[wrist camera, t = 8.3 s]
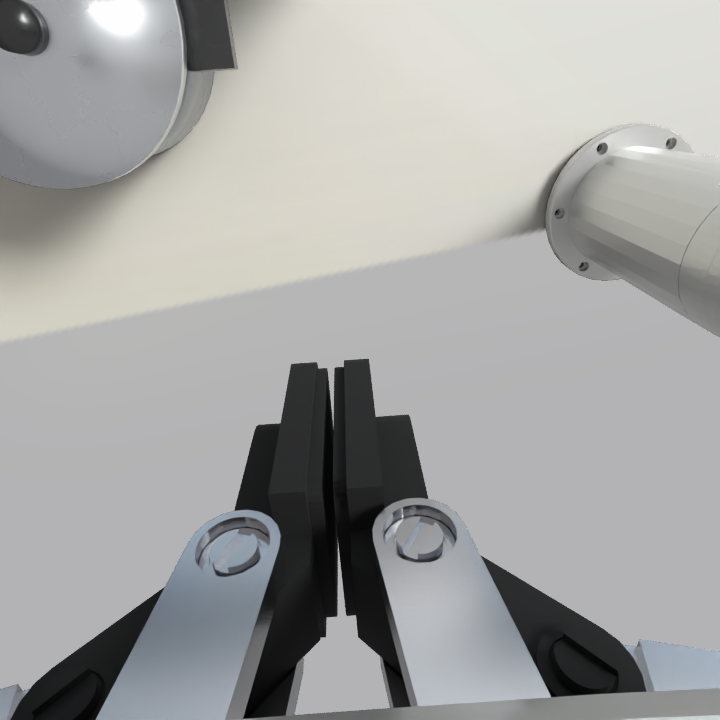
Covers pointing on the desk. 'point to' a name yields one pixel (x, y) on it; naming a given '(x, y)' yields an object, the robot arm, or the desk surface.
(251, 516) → the robot arm
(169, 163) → the desk surface
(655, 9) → the desk surface
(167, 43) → the lid
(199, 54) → the pot
